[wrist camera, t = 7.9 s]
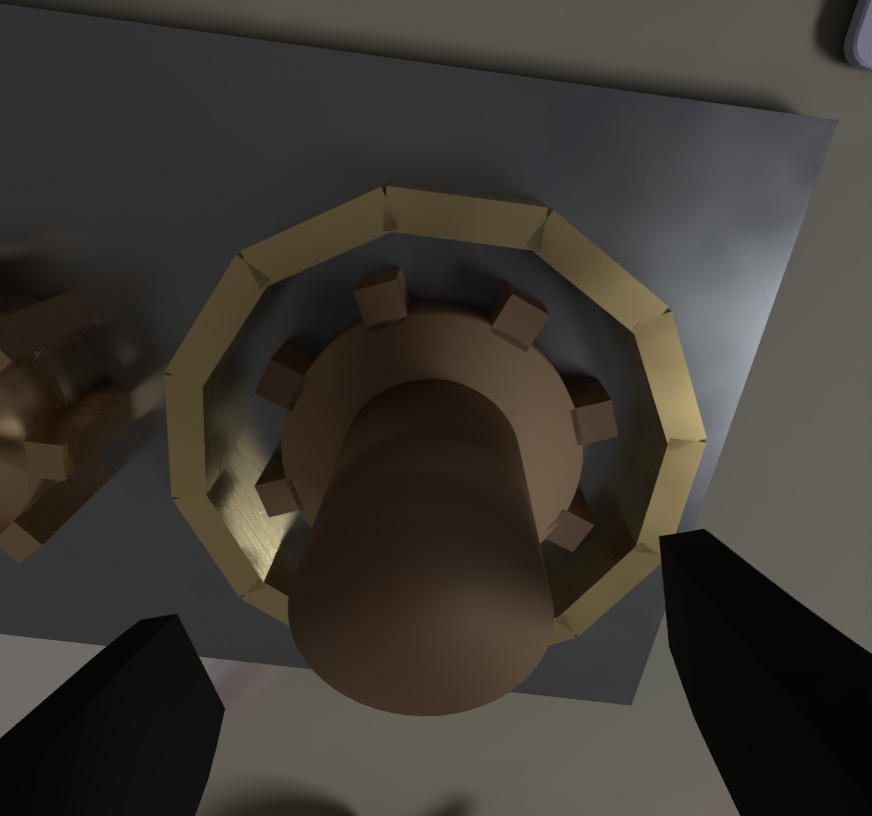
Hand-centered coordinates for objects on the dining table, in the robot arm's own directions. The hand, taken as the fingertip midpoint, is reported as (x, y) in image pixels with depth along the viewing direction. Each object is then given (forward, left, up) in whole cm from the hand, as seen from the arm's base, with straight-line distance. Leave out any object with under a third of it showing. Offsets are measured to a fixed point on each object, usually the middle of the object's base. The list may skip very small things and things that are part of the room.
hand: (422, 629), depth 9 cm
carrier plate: (+4, 0, -7) cm, 8 cm away
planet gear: (0, 0, -6) cm, 6 cm away
